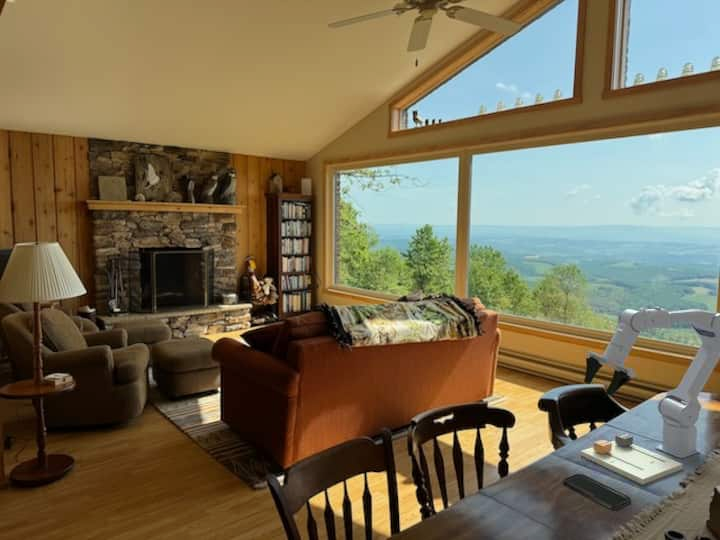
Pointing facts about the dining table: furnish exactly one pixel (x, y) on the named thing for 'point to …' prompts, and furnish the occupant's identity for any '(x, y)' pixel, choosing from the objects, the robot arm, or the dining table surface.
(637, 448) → the board
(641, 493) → the dining table surface
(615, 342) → the robot arm
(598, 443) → the fader orange
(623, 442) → the block
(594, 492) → the phone
